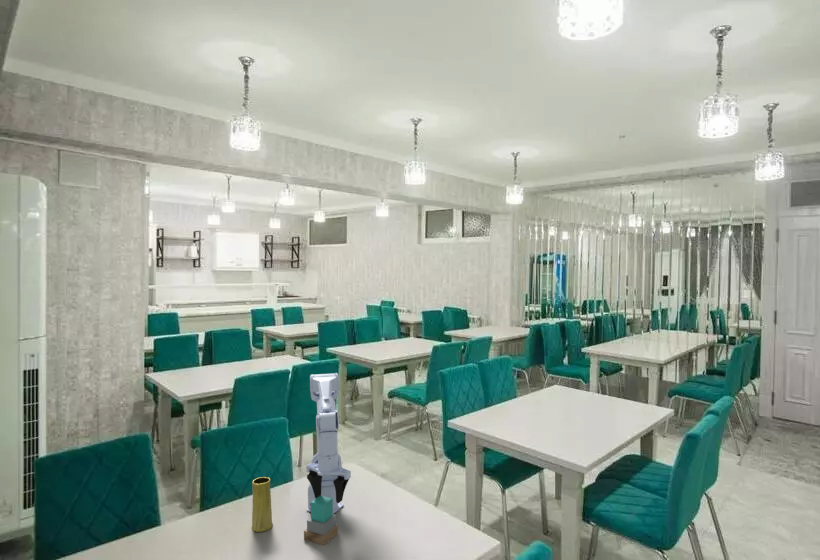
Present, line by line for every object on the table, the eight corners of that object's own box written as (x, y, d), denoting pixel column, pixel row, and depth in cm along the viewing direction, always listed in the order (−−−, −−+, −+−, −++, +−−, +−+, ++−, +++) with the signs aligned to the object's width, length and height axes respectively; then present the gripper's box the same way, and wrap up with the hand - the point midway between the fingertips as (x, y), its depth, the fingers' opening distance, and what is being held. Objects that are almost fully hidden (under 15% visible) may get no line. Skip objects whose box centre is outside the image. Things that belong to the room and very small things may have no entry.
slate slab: (307, 530, 135) (306, 520, 135) (319, 520, 140) (319, 511, 140) (324, 535, 132) (324, 524, 132) (336, 525, 138) (336, 515, 138)
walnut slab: (303, 541, 135) (303, 531, 135) (318, 529, 141) (318, 519, 141) (323, 547, 132) (323, 536, 132) (337, 534, 138) (337, 524, 138)
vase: (247, 527, 142) (247, 480, 142) (266, 519, 146) (265, 474, 146) (258, 534, 138) (257, 486, 138) (276, 526, 142) (275, 480, 142)
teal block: (310, 519, 135) (311, 502, 135) (319, 512, 139) (319, 495, 139) (324, 522, 134) (324, 505, 134) (332, 515, 138) (332, 498, 138)
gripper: (299, 454, 137) (300, 500, 137) (340, 461, 131) (341, 510, 131) (314, 446, 143) (314, 490, 143) (354, 453, 137) (355, 499, 137)
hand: (328, 499), depth 137 cm, fingers open, 7 cm apart
